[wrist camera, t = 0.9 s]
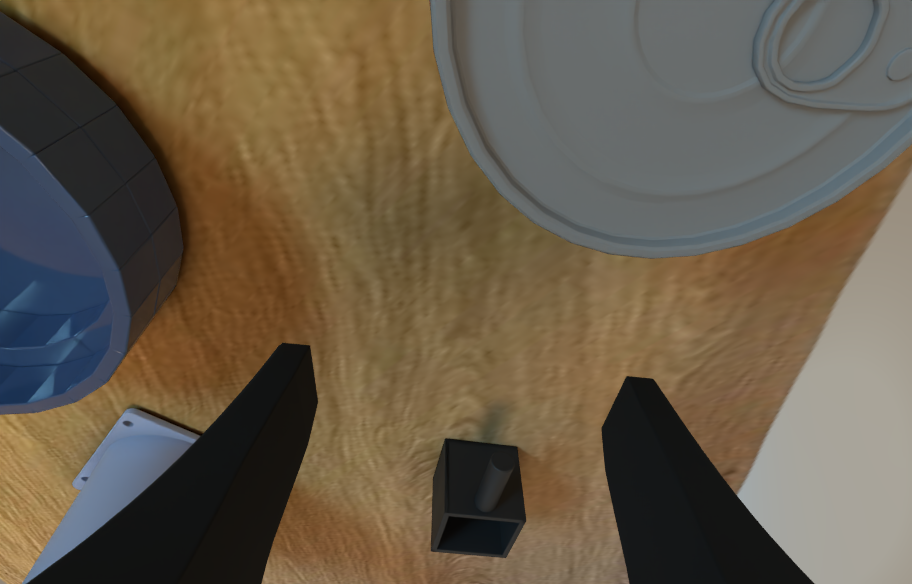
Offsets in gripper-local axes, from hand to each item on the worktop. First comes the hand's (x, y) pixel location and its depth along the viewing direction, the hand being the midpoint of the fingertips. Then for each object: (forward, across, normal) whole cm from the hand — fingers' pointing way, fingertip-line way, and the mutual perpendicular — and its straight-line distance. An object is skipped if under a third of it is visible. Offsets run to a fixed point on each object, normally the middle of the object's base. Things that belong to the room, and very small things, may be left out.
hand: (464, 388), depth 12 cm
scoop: (+10, -2, +17) cm, 20 cm away
